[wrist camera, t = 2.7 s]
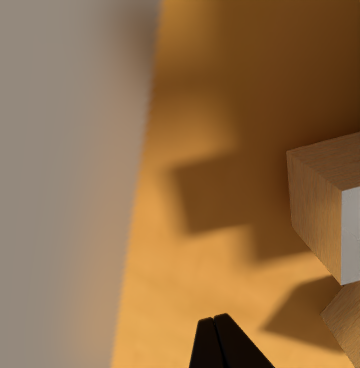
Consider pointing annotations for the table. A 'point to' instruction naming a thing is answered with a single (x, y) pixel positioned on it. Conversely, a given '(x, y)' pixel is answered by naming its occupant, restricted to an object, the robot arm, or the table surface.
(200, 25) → the table surface
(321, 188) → the peg
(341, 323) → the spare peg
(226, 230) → the table surface
